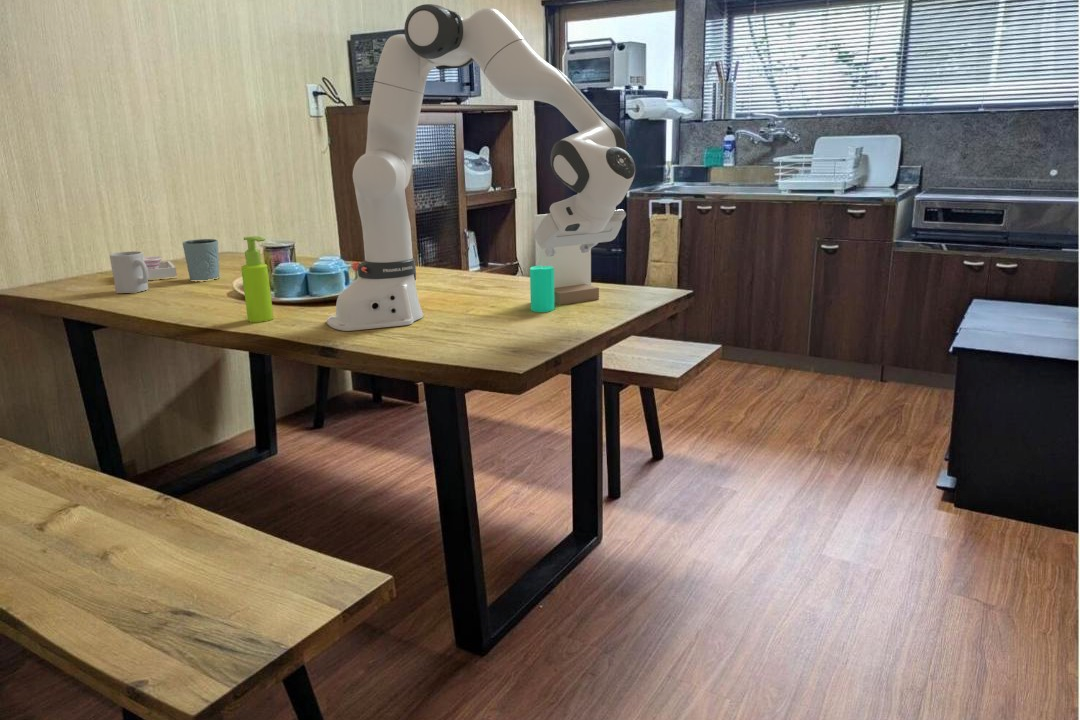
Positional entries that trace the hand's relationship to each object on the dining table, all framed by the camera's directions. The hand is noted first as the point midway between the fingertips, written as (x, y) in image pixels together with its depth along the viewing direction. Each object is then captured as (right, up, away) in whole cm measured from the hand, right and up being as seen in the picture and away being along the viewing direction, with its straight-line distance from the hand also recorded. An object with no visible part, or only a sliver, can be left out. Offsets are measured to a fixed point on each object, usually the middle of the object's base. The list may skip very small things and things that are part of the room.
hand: (566, 252), depth 180 cm
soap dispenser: (-73, -15, +9) cm, 75 cm away
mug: (-123, -5, +47) cm, 132 cm away
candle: (-5, -12, +14) cm, 19 cm away
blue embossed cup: (-110, 0, +63) cm, 127 cm away
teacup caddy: (-131, +1, +69) cm, 148 cm away
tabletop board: (+2, -9, +24) cm, 26 cm away
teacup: (-130, +1, +70) cm, 147 cm away
